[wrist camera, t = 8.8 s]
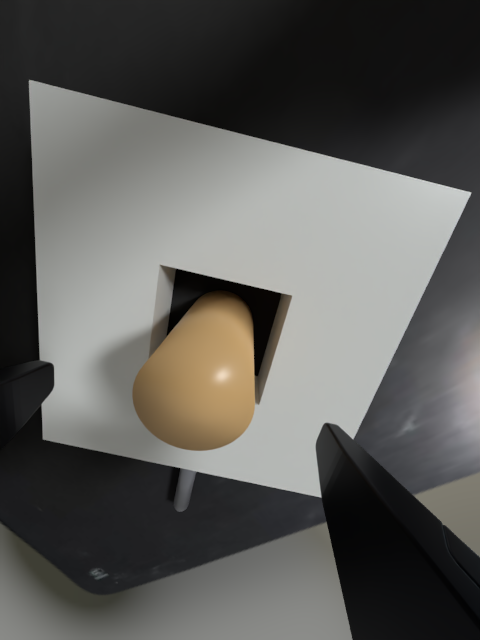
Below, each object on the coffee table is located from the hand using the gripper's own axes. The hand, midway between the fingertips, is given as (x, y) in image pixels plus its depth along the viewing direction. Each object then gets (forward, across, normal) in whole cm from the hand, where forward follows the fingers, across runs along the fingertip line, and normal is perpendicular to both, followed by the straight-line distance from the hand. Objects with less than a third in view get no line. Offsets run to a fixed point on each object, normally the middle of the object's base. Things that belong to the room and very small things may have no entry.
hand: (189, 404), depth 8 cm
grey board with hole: (+8, 0, +3) cm, 9 cm away
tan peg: (+8, 0, 0) cm, 8 cm away
